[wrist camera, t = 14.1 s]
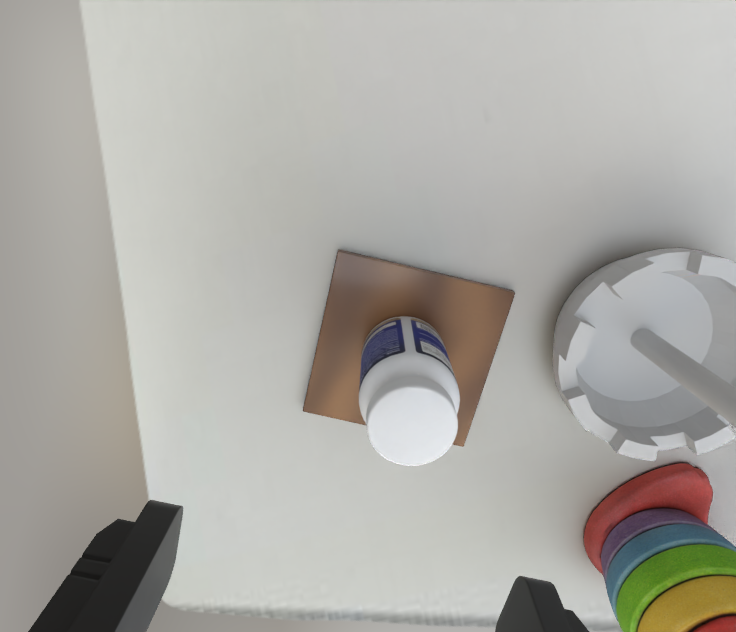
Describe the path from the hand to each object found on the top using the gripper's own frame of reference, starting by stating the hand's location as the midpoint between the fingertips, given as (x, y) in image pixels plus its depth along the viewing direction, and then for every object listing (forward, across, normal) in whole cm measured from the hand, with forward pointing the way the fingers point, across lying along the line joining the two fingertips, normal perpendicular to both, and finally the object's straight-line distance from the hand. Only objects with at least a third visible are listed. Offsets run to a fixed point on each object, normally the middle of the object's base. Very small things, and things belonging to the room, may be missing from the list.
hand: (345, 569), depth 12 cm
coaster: (+24, -4, +4) cm, 25 cm away
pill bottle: (+24, -4, +4) cm, 24 cm away
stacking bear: (+24, -26, +14) cm, 38 cm away
